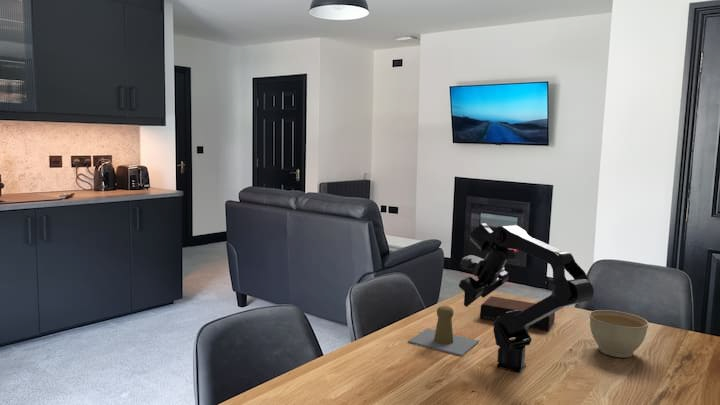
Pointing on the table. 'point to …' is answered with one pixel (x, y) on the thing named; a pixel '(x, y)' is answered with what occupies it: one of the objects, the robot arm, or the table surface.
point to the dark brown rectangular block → (501, 305)
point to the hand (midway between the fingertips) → (473, 301)
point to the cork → (444, 326)
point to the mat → (457, 347)
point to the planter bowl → (617, 332)
